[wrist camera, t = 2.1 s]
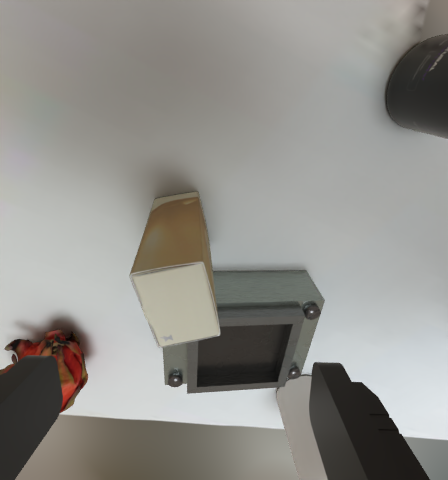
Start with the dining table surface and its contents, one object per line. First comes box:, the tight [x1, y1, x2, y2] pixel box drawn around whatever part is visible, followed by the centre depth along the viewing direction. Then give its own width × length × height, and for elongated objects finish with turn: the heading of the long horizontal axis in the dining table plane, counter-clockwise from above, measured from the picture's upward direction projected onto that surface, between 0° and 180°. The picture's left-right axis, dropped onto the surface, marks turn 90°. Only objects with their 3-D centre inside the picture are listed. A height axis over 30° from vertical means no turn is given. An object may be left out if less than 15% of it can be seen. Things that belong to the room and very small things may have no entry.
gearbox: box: [163, 271, 325, 394], centre depth 31 cm, size 16×12×6 cm
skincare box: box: [130, 192, 220, 348], centre depth 22 cm, size 6×4×12 cm
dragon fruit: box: [0, 329, 88, 413], centre depth 31 cm, size 8×8×12 cm
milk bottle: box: [276, 376, 328, 480], centre depth 35 cm, size 8×8×20 cm
